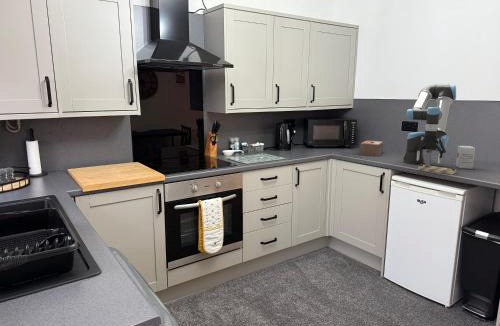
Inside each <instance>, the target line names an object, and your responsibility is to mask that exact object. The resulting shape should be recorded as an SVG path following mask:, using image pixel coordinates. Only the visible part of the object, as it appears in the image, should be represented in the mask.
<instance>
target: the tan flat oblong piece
mask: <svg viewBox="0 0 500 326" xmlns="http://www.w3.org/2000/svg"><path fill="white" fill-rule="evenodd" d="M417 171H422V172H423V171H424V172H432V173H437V174H444V175H445V174H446V175H454V174H456V173H457V169H456V167H452V168H448V167H440V166H435V165H433V166H432V165H430V167H425V164H418V167H417Z"/></svg>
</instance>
